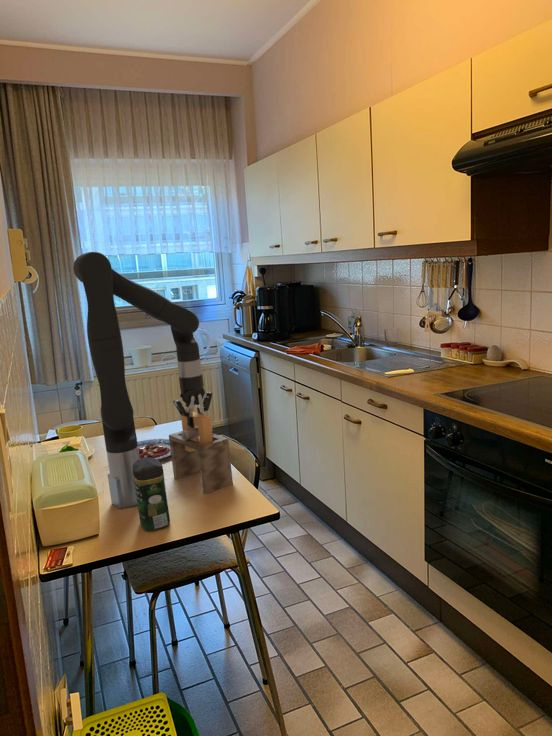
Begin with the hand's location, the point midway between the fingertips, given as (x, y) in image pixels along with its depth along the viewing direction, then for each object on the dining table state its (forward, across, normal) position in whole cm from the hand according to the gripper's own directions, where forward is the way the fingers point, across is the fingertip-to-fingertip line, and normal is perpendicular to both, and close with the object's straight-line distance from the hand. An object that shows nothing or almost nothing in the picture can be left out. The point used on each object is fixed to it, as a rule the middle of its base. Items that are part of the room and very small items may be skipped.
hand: (196, 426), depth 181 cm
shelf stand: (+19, 0, 0) cm, 19 cm away
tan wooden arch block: (+9, 0, 0) cm, 9 cm away
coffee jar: (+19, -26, -16) cm, 36 cm away
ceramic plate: (+19, 0, +39) cm, 43 cm away
